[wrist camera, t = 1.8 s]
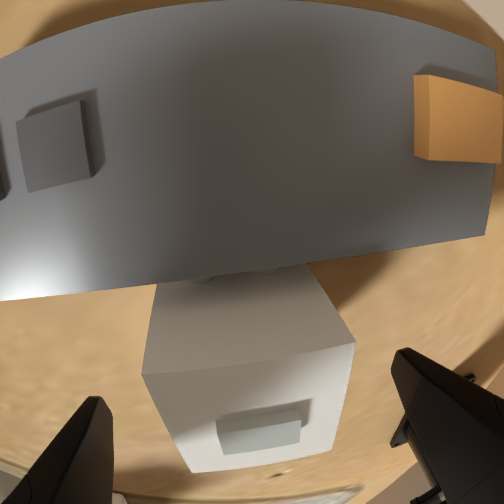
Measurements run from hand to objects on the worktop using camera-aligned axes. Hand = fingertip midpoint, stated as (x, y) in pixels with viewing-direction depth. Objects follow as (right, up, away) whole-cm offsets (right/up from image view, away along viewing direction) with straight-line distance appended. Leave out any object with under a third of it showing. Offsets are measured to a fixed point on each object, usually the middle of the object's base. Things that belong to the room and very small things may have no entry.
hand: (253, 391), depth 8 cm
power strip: (-1, +8, +1) cm, 8 cm away
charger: (-1, +3, +3) cm, 4 cm away
